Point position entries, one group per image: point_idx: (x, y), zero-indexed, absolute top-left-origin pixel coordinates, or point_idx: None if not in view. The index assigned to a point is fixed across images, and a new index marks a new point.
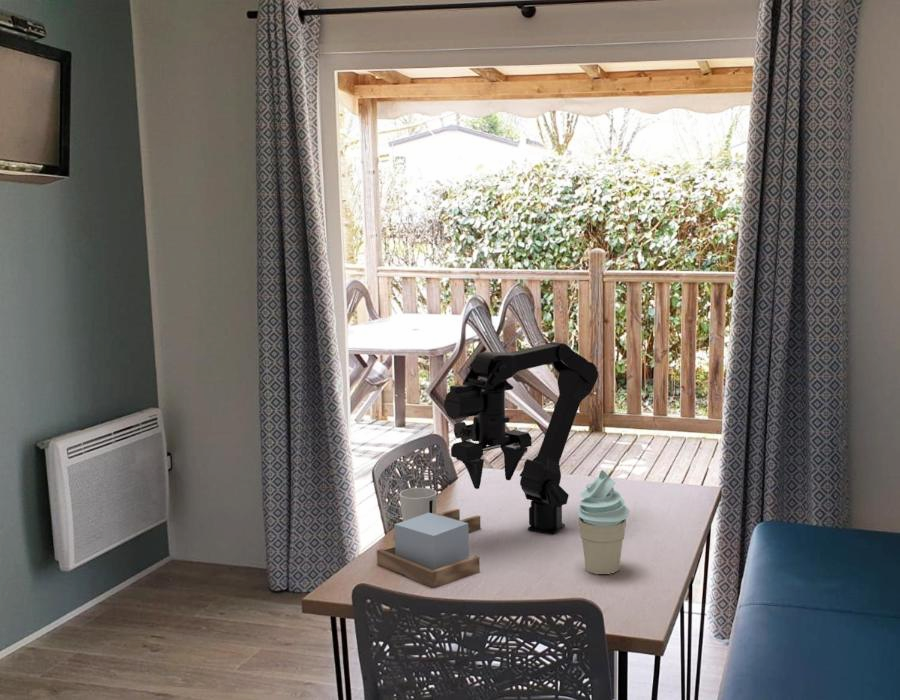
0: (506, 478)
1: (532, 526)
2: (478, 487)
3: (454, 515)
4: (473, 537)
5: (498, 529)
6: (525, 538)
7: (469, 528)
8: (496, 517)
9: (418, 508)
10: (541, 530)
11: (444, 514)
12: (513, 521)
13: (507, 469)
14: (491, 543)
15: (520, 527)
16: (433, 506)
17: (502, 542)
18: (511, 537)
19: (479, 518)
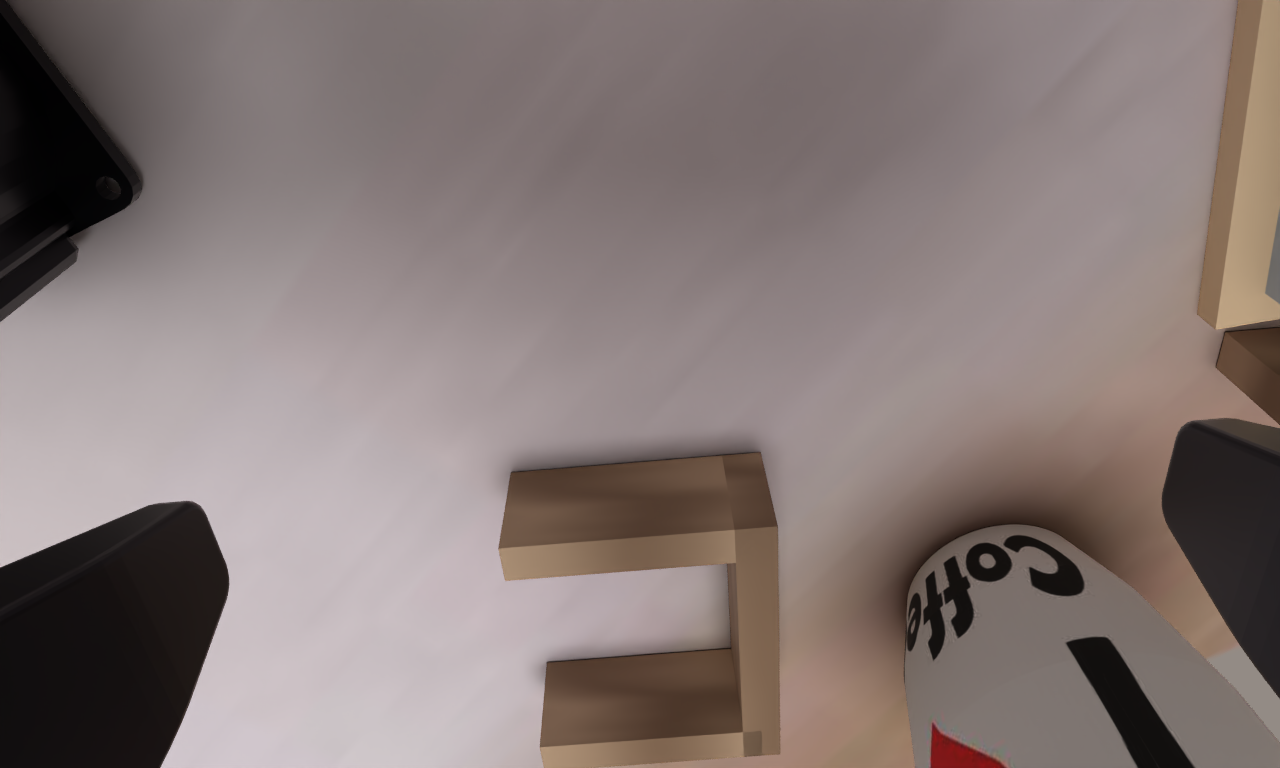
0: (214, 587)
1: (65, 207)
2: (1248, 422)
3: (598, 710)
4: (690, 356)
5: (381, 383)
6: (287, 19)
7: (639, 483)
8: (236, 597)
9: (1269, 741)
10: (25, 43)
11: (706, 730)
12: (150, 459)
13: (87, 757)
14: (669, 129)
15: (168, 307)
16: (1085, 723)
17: (563, 80)
18: (399, 141)
19: (511, 534)
